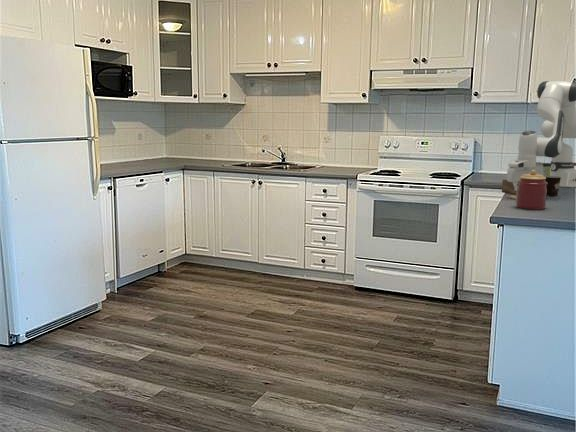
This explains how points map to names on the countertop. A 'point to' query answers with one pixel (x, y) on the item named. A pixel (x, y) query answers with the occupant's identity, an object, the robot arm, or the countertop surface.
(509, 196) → the lid
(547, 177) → the coffee mug
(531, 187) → the canister
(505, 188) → the open wooden box
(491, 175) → the countertop surface
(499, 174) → the countertop surface
